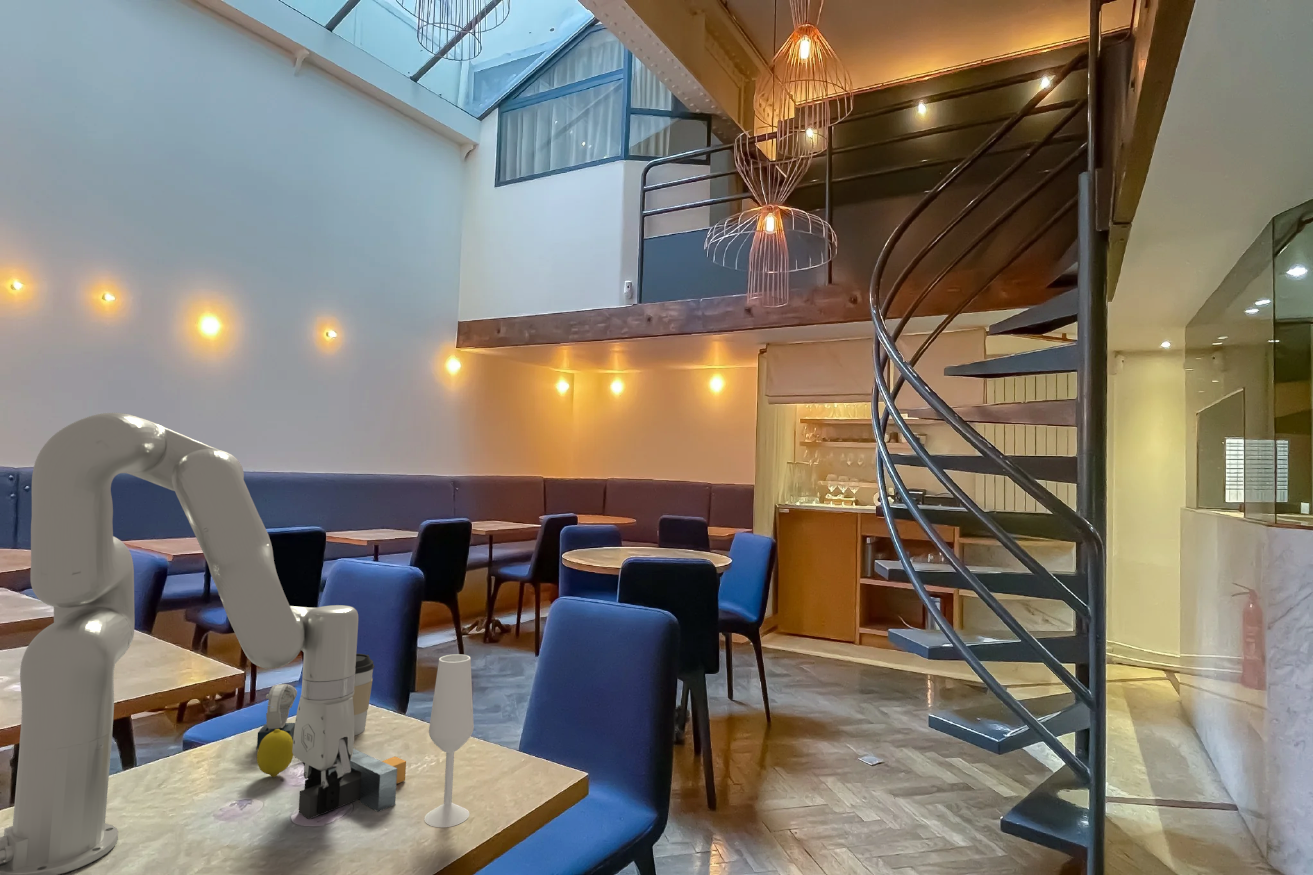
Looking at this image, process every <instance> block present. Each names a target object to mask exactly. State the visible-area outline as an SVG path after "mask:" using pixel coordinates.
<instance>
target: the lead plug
mask: <svg viewBox="0 0 1313 875" xmlns="http://www.w3.org/2000/svg"><path fill="white" fill-rule="evenodd" d="M381 761H382V762H384V763H387V764H389V765H391V766H393V767H395V768H397V781H396V785H397V784H400V783H402V782H405V781H406V771H407V770H406V769H407V761H406V760H404V759H402V758H400V757H398V756H392V757H390V758H386V759H384V760H381ZM361 774H362V772H359V771H357V770H356V771H354V772H351V773H349V774H347V775H345V776H344V777H343V778H342V782H341V783H340V793H339V806H338V808H340V807H343V806H346V805H348V804H351V803H353V802H356V801H358V800H360V792H361ZM318 787H321V784H319V785H316V786H313V787H310V788H307V789H301V790H299V798H298V813H299V814H300V815H302V816H304V817H305V818H306V819H308V820H311V819H313V818H316V817H317V816H320V815H319V814H318V813H317V802H318Z"/></svg>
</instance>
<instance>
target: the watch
mask: <svg viewBox="0 0 1313 875" xmlns="http://www.w3.org/2000/svg"><path fill="white" fill-rule="evenodd" d="M297 696H298V690H297V689H296V687H294V686H293V685H291V684H288V683H279V684H274V685H272V686H271V688H270V690H269V693H267V694H266V695H265V699H268V701H267V711H266V716H265V717H266V723H264V724H263V726H262V727H261V728H260V729H259V730H258V732H257V737H256V738H257V739H256V740H257V741H256V750H257V749H259V746H260V743H261V741H262V740H263V738H264V737H265V736H266V735H268V734H269V733H271V732H273V731H274V730H275V729H280V730H282V731H285V732H287V733H288V734H289V735H290V736H291V737H292V740H293V737H294V729H295V722H288V721H287V720H288V718H289V714H290V709H291V708H292V707H293V704H294V702H295V700H296V698H297Z"/></svg>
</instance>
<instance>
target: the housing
mask: <svg viewBox="0 0 1313 875" xmlns="http://www.w3.org/2000/svg"><path fill="white" fill-rule="evenodd" d="M335 761H336V759H335ZM335 761H334V762H335ZM382 761H383V760H379V759H377V758H376V757H373V756H371V755H369V754H366V753H364V752H362V751H360V750H358V749H356V748H354V747H353V755H352V759H351V760H350V762H349V763H350V767H351V772H354V771H356V770H357V771H359V772H362V774H361V792H360V799H359V803H360V804H362V805H365V806H366V807H368V808H370V809H372V810H374V811H376V812H377V813H378V812H381V811H383V810H386V809H389V808H390V807H393V806H395V805H396V801H397V800H396V797H397V784H396V781H397V768H395V767H393V766H391V765H389V764H387V763H384V762H382ZM333 771H335V768H333V769H330V770H329V775H330V774H331V772H333ZM351 772H350V773H351Z"/></svg>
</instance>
